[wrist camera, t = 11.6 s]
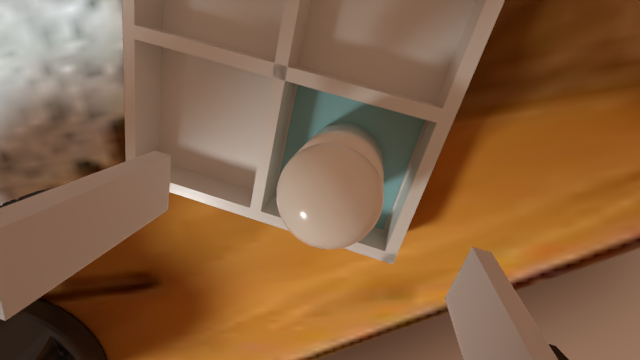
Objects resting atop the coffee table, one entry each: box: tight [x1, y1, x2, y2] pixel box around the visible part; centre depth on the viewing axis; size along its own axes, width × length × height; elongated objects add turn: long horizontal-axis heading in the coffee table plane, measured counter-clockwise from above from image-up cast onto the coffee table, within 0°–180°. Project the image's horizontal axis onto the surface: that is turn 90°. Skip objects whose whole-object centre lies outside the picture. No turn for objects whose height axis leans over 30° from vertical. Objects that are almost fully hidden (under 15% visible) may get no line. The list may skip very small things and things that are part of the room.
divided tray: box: [122, 0, 505, 264], centre depth 19 cm, size 20×20×4 cm
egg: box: [277, 122, 384, 249], centre depth 17 cm, size 6×6×9 cm
